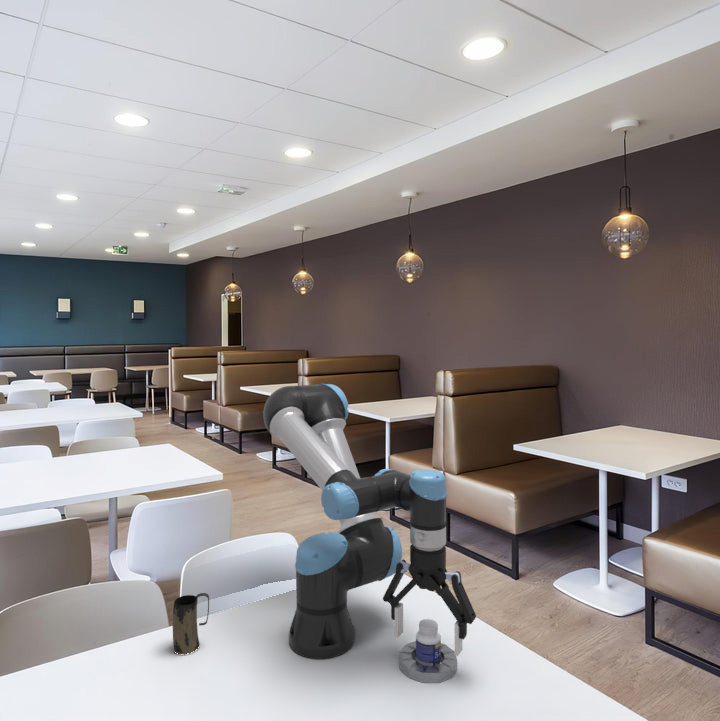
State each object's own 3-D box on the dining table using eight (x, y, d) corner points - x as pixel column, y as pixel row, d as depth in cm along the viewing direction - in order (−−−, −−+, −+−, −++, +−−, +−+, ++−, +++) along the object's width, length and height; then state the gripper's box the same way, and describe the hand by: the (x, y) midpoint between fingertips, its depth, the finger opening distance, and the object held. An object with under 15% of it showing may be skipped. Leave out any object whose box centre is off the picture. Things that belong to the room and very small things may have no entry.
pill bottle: (439, 673, 114) (439, 631, 113) (414, 670, 115) (414, 628, 114) (441, 658, 119) (441, 618, 119) (417, 655, 120) (417, 616, 120)
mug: (171, 656, 120) (170, 603, 119) (174, 643, 125) (173, 591, 125) (209, 652, 122) (208, 599, 121) (210, 638, 127) (209, 588, 127)
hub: (389, 671, 114) (389, 658, 114) (413, 643, 125) (413, 631, 125) (444, 689, 108) (444, 675, 108) (464, 658, 119) (464, 646, 119)
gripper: (367, 540, 118) (367, 635, 119) (480, 563, 106) (479, 669, 107) (383, 529, 125) (383, 620, 126) (491, 550, 113) (490, 650, 113)
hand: (427, 643), depth 116 cm, fingers open, 13 cm apart
